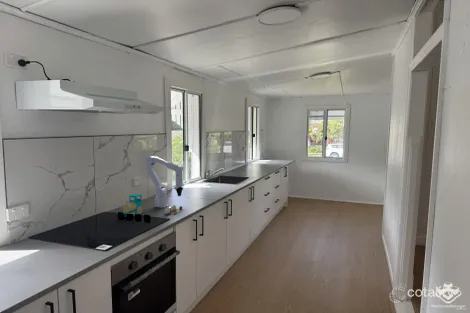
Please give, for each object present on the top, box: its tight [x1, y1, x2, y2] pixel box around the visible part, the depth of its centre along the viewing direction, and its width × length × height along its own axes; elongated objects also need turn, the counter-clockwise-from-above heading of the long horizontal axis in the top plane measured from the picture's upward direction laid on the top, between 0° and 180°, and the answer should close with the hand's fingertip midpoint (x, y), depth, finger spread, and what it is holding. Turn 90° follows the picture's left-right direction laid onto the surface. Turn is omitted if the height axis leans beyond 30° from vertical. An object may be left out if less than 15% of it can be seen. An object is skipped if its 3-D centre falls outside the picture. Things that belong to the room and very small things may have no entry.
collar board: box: [167, 205, 184, 215], centre depth 242 cm, size 10×14×4 cm
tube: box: [162, 204, 177, 215], centre depth 238 cm, size 14×4×4 cm
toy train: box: [122, 193, 143, 216], centre depth 231 cm, size 8×17×15 cm, turn 160°
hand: (179, 196), depth 256 cm, fingers closed
